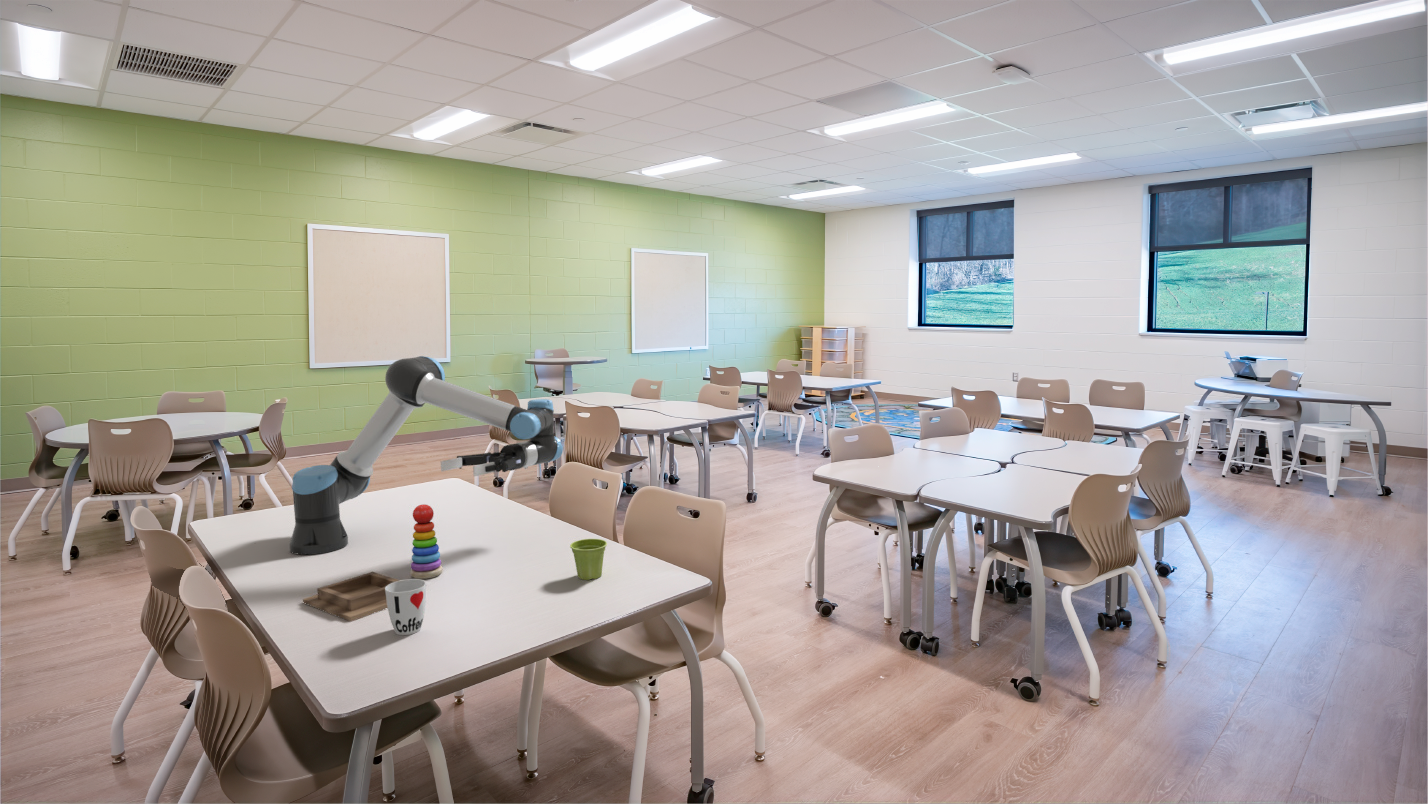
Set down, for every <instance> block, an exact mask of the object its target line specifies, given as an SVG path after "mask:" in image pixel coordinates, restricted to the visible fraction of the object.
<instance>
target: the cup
mask: <svg viewBox="0 0 1428 804" xmlns="http://www.w3.org/2000/svg"><path fill="white" fill-rule="evenodd" d="M385 592H386V600H387V611H388V616H389V619H390V623H391V626H392V628H393V631H394V633H395V634H396V635H398V636H410V635H413V634H416V633H418V632H420V631H421V629H422V625H423V622H424V618H425V611H426V603H427V600H426V599H427V582H426V580H425V579H416V578H408V579H401V581H396V582H393V583H391V584H389V585H387V586H386V587H385Z"/></svg>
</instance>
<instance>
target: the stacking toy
mask: <svg viewBox="0 0 1428 804" xmlns="http://www.w3.org/2000/svg"><path fill="white" fill-rule="evenodd" d="M434 514H435V513H434V510H433V508H432V507H431V505H428V504H425V503H424V504H419V505H418V506H416V507H415V508H414V510H413V511H412V517H413V518H412V519H413V520H414V522H415V523H414V525H413V530H414V532H413V533H412V538H413V540H412V542H411V543H412V546H413V547H412V549H411V552H412V556H411V561H412V562H411V563H410V568H411V570H410V576H411V577H412V579H420V580H427V579H432V578H437V577H438V576H440V575H441V574H442V573H443V571H444V568H443V566H442V560H441V559H440V557H441V553H440V551H439V549H440V545H439V544H437V542H438V538H437V537H436V530H434V529H435V523H434V522H432V520H433V518H434Z"/></svg>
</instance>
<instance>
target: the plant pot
mask: <svg viewBox="0 0 1428 804" xmlns="http://www.w3.org/2000/svg"><path fill="white" fill-rule="evenodd" d="M607 545H608V542H607V541H606V540H604V539H600V538H584V539H579V540H574V541H573V542H571V543H570V544H569V547H570V549H571V551H572V554H573V558H574V563H575V567H576V569H575V570H576V573H577V574H576V575H577V578H578V579H580V580H584V581H591V579H594V580H596V579H599V578H601V577H602V574H603V565H604V554H605V551H606V547H607Z"/></svg>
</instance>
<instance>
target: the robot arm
mask: <svg viewBox="0 0 1428 804" xmlns="http://www.w3.org/2000/svg"><path fill="white" fill-rule="evenodd" d="M384 378H385V384H386V387H387V389H388V391H389V393H388V394H387V395H386V397H385V398H384V399H383V401H382V402H381V403H380V405H379V406H378V408H377V409H376V411H374V413H373V414H372V416H371V417H370V418H369V420H368V421H367V423H365V425H364V427H363V428H362V430H361V431H360V432H359V433H358V435H357V436H356V438H355V439H354V440H353V442H352V443H351V444H350V446H349V447H348V448H347V450H344V451H340V452H338V453H337V455H336V456H335V458H334V459H333V460H332V462H331V463H330V464H329V465H328V464H319V465H313V466H310V467H305V468H301V469H300V470H298V471H296V472H295V473H294V474H293V475H292V485H291V490H292V495H293V496H292V497H293V498H292V499H293V509H294V511H293V512H294V523H295V524H294V528H293V531H292V535H291V538H290V541H289V542H290V543H289V551H290V552H291V553H292V552H293V553H292V554H294V553H298V554H297V555H302V554H308V555H318V553H320V554H325V553H330V552H333V551H337V550H341V549H343V548H345V547H347V545H349V537H348V536H349V535H348V534H347V531H346V530H345V527H344V524H343V523H342V519H341V517H340V516H341V515H340V513H341V512H340V504H343V503H344V502H348V501H349V500H353V499H355V498H357V497H358V496H360V495H362V493H364V492H365V491H366V490H367V488H368V487H369V485H370V482H371V476H372V475H373V473H374V469H373V465H375V462H376V461H377V460H378V458H379V457H380V456H381V455H382V453H383V452H384V451H385V449H386V448H387V446H388V445H389V444H390V443H391V441H392V439H393V438H394V437H395V436H396V434H397V433H398V431H400V429H401V427H402V426H403V425H404V423H406V421H407V420H408V418H409V416H410V415H411V414H412V412H413V411H414V410H415V409H419V408H423V406H424V405H425V404H429V405H432V406H435V407H436V408H437V407H438V408H440V409H443V410H446V411H450V412H452V413H455V414H458V415H461V416H463V417H466V418H469V419H472V420H475V421H479V422H480V423H483V424H487V425H489V426H493V427H496V428H498V429H501V430H503V431H504V430H505V431H507V432H510V433H511V434H513V436H514V437H515V438H517V439H518V440H525V441H521V442H516V443H511V444H507V445H506V444H505V445H504V446H503V447H502V448H501V449H500V452H499V451H496V452H493V453H491V452H484V453H476V454H467V455H457V456H456V458H451V459H450V458H449V459H446V460H441V461H440V471H441V472H445V471H450V470H455V469H460V470H461V469H463V467H467V466H468V467H469V466H472V469H473V471H472V472H473V474H472V475H473V477H479V476H482V475H487V474H492V473H495V472H496V473H499V472H502V473H506V472H509V471H517V470H519V469H525V470H526V469H528V467H532V466H535V465H541V464H548V463H551V462H553V461H558V459H560V458H561V457H562V454H563V451H564V446H563V444H562V441H561V439H559V437H557V436H555V421H554V420H555V417H554V416H555V415H554V412H555V410H554V403H553V401H552V400H551V399H547V398H541V399H539V398H538V399H537V398H536V399H531V400H529V401H528V402H527V409H525V408H523V407H520V406H516V405H514V404H512V403H508V402H505V401H502V400H499V399H497V398H495V397H491V396H488V395H486V394H482V393H480V392H477V391H474V390H471V389H468V388H465V387H462V386H459V385H457V384H454V383H450V382H448V381H445V380H446V374H445V370H444V367H443V366H442V365H441V363H440V362H439V361H438V360H437V359H435V358H432V357H429V356H423V355H422V356H421V355H420V356H416V357H410V358H409V357H408V358H402V359H398V360H396V361H394V362H393V363H392V364H390V366H388V368H387V369H386V372H385V377H384Z"/></svg>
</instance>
